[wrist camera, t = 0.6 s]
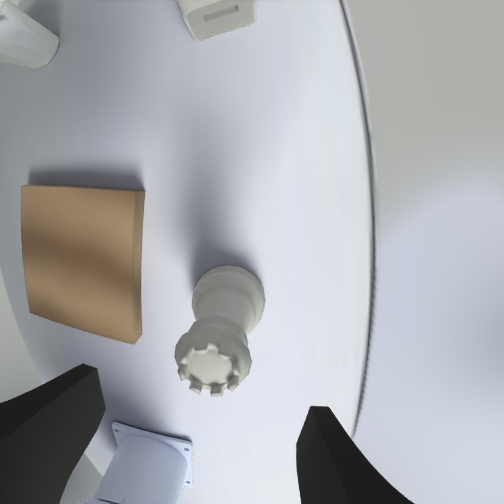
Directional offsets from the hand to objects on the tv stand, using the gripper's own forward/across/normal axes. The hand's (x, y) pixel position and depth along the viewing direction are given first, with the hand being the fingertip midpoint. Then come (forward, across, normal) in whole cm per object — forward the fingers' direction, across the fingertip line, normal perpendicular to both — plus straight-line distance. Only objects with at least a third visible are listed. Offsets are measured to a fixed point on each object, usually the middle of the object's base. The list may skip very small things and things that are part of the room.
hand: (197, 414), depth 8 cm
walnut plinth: (+10, +11, -1) cm, 15 cm away
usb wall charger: (+11, +4, -20) cm, 23 cm away
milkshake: (+10, +18, -17) cm, 27 cm away
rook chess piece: (+10, 0, 0) cm, 10 cm away
